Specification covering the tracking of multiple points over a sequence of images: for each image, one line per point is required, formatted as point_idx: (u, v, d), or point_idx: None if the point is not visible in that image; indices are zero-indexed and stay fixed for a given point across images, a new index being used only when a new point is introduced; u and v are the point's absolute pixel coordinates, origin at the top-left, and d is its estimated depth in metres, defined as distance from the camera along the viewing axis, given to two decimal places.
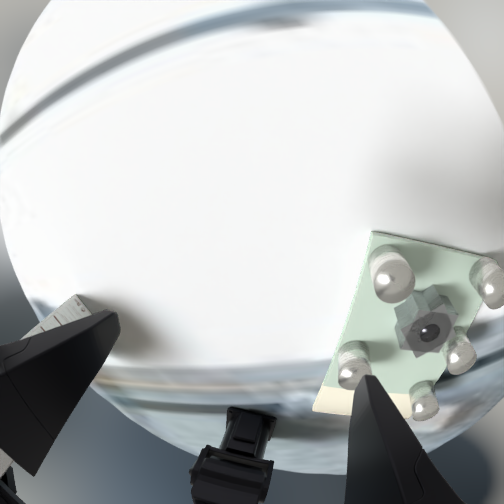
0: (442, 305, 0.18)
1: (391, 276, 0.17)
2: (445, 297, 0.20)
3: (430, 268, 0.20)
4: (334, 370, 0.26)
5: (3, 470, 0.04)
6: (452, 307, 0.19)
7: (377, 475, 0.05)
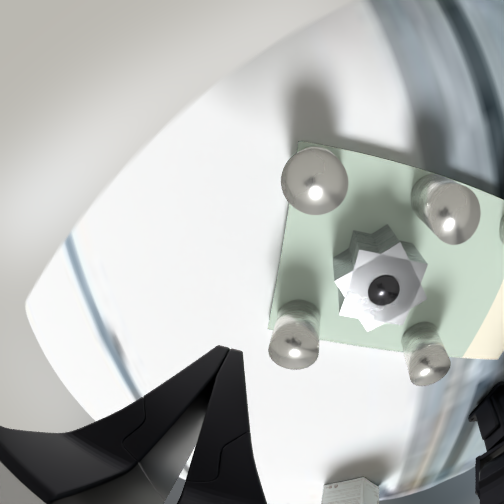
0: (337, 282, 0.14)
1: (282, 356, 0.16)
2: (352, 237, 0.16)
3: (308, 265, 0.18)
4: None
5: None
6: (355, 244, 0.15)
7: None
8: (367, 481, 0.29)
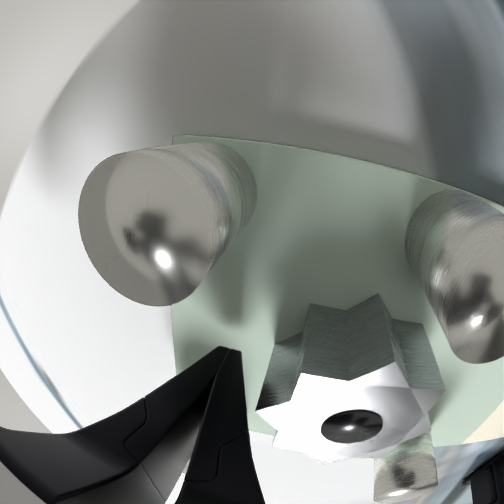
0: (260, 413, 0.07)
1: None
2: (307, 317, 0.09)
3: (215, 346, 0.10)
4: (433, 443, 0.11)
5: None
6: (304, 345, 0.07)
7: None
8: None
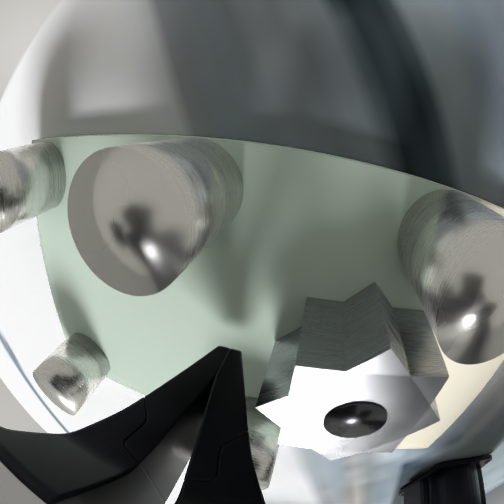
0: (261, 409, 0.07)
1: (49, 394, 0.10)
2: None
3: (70, 293, 0.12)
4: None
5: None
6: (299, 338, 0.07)
7: None
8: None
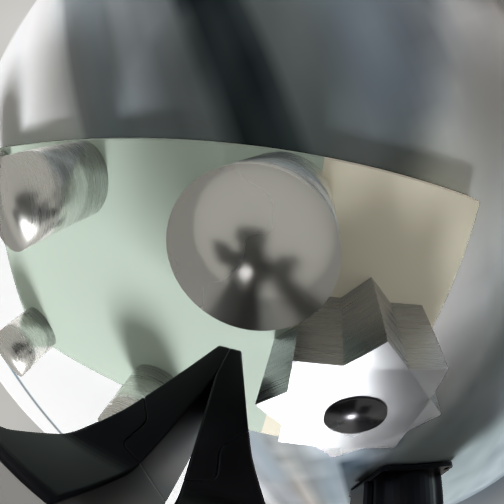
0: (261, 406, 0.07)
1: (5, 358, 0.11)
2: None
3: (22, 271, 0.13)
4: None
5: None
6: (297, 334, 0.07)
7: None
8: None
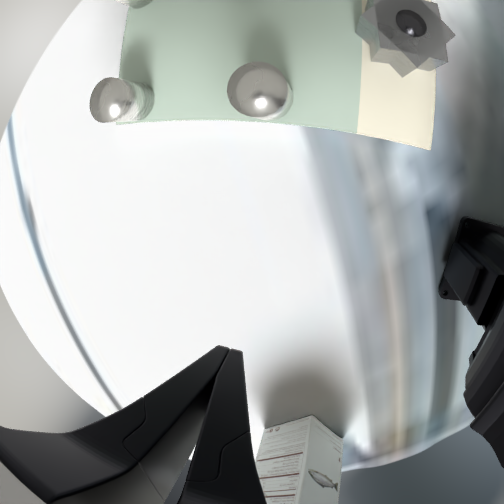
0: (364, 16, 0.10)
1: (99, 108, 0.14)
2: (366, 11, 0.11)
3: (139, 51, 0.16)
4: (314, 119, 0.15)
5: None
6: (368, 0, 0.10)
7: None
8: (319, 423, 0.26)
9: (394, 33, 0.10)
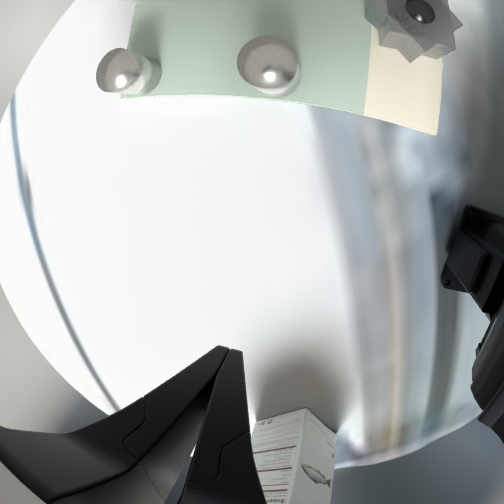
0: (374, 0, 0.09)
1: (105, 77, 0.13)
2: None
3: (149, 27, 0.15)
4: (322, 98, 0.15)
5: None
6: None
7: None
8: (312, 416, 0.26)
9: (403, 18, 0.09)
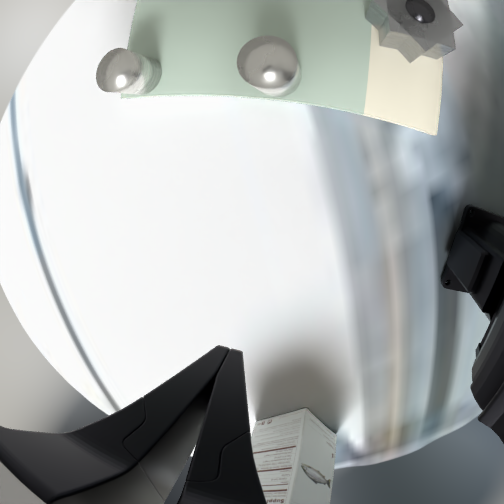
0: (375, 0, 0.09)
1: (105, 77, 0.13)
2: None
3: (149, 27, 0.15)
4: (322, 98, 0.15)
5: None
6: None
7: None
8: (312, 416, 0.26)
9: (403, 18, 0.09)
